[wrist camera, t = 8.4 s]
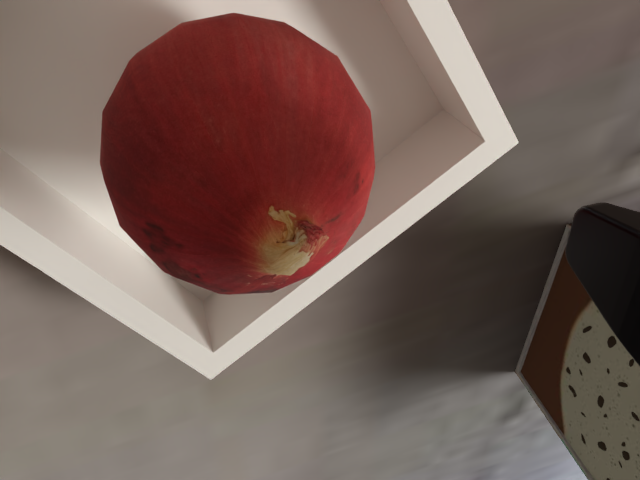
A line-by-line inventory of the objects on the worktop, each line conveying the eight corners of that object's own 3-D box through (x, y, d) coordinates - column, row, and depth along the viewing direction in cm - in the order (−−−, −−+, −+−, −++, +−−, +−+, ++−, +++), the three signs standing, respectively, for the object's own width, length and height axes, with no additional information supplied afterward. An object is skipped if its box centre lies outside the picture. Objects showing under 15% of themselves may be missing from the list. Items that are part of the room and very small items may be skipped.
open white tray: (194, 291, 21) (210, 379, 18) (-124, 48, 14) (-203, 114, 11) (444, 90, 20) (518, 142, 16) (227, -291, 13) (272, -348, 9)
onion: (293, 198, 18) (394, 389, 12) (97, 185, 16) (91, 411, 9) (339, 6, 15) (506, 123, 9) (106, -42, 13) (105, 69, 7)
